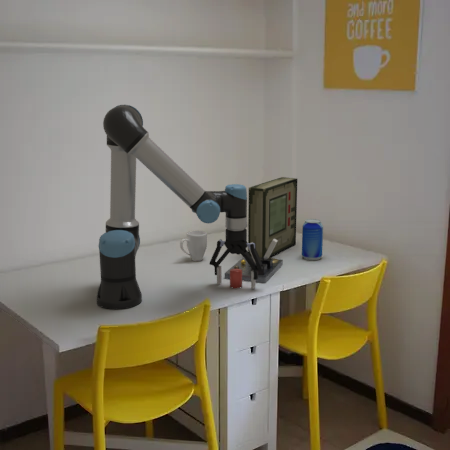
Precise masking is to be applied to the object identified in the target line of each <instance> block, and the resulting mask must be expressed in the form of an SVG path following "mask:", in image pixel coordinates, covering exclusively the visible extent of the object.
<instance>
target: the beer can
mask: <svg viewBox="0 0 450 450" xmlns="http://www.w3.org/2000/svg"><path fill="white" fill-rule="evenodd" d="M301 231H302V236H301V237H302V238H301V256H302V258H303V259H304V260H307V261H319V260H320V259H321V258H322V256H323V246H324V245H323V244H324V241H323V240H324V225H323V223H322V220H321V219H317V218H308V219H305V220H304V223H303V224H302V230H301Z"/></svg>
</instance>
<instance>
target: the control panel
mask: <svg viewBox="0 0 450 450" xmlns="http://www.w3.org/2000/svg"><path fill="white" fill-rule="evenodd" d="M297 202H298V178H297V177H296V178H295V177H285V176H281V177H278V178H276V179H275V178H274V179H272V180H269V181H268V180H267V181H266V182H262V183H258V184H256V185H252V186H250V187H248V206H247V208H248V209H247V211H248V212H247V214H248V215H247V221H248V222H247V223H248V224H247V225H248V227H247V228H248V229H247V232H248V233H247V237H248V238H247V243H252V242H254V243H255V244H256V250H257V253H258V255H259V257H262V258H264V256H265V254H266V252H267V250H268V248H269V246H270V244H271V242H272V240H273V239H276V240H278V241H277V243H276V245H275V247H274V249H273V251H272V253H271V255H270V257H269V258H273V257H276V256H277V255H279V254H281V253H283V252H285V251H287V250H289V249H290V248H292V247H294V246H296V243H297V242H296V241H297V208H298V207H297V206H298V205H297V204H298V203H297ZM247 251H248V254H249V255H250V256H251V257H252V255H251V253H250V251H249V248H248V247H247Z"/></svg>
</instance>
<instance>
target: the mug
mask: <svg viewBox="0 0 450 450" xmlns="http://www.w3.org/2000/svg"><path fill="white" fill-rule="evenodd" d="M184 241H186V247H187V251H188V252H187V251H186V250H185V249H184V247H183V243H184ZM207 245H208V233H207V231H204V230H191V231H188V232H187V233H186V238H182V239H181V240H180V243H179V246H180V249H181V250H182V252H183V253H185V254H186V255H187V256H190V259H191V261H194V262H201V261H202V260H203V258H204V256H205V253H206V250H207V247H208V246H207Z"/></svg>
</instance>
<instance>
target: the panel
mask: <svg viewBox="0 0 450 450" xmlns="http://www.w3.org/2000/svg"><path fill="white" fill-rule="evenodd" d="M251 258H252V257H251ZM252 259H253V258H252ZM260 260H261V262H262V264H263V268H262V269H261V270H258V279H257V280H256V283H259V284H260V283H261V284H266V283H268V282H269V280H270V279H271V278H272V277H273V275H275V273H276V272H278V270H279V269H280V268H281V267H282V266H283V265H284V264H283V262H284V261H283V259H280V258H279V259H278V258H273V257H272V258H268V259H267V260H265V259H264V258H262V257H260ZM231 269H241V270H242V281H243V280H244V282H251V271H252V270H253V269H252V268H251V266H250V265H249V264H248V262H247V261H246V259H245V258H244V257H243V256H242V258H241V259H239V260H238V261H237V262H236V263H234V265H232V266H231V267H230V268H229V269H228V270H227V271H225V272H224V279H226V278H228V279H227V280H230V270H231Z"/></svg>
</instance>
